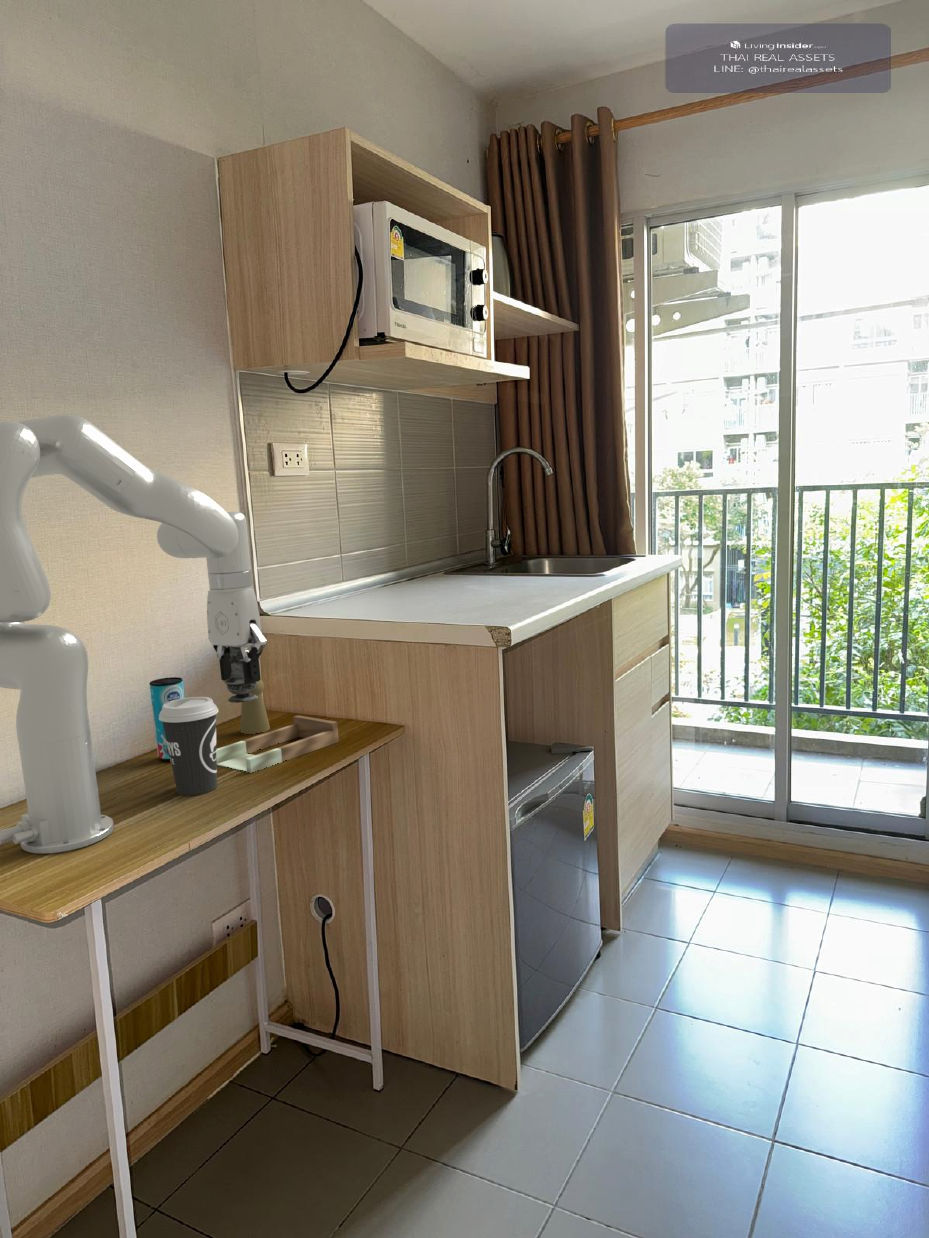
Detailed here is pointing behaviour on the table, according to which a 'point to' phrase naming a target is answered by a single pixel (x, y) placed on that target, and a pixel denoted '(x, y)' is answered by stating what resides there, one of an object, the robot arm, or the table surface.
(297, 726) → the bay
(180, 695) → the beverage can
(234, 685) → the grey chess piece
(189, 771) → the coffee cup
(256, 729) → the cork
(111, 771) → the table surface
